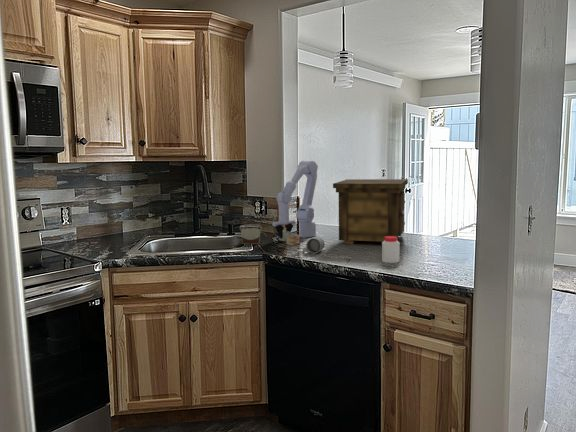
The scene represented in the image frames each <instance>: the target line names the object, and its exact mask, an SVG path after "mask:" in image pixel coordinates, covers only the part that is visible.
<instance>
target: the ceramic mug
mask: <svg viewBox="0 0 576 432" xmlns="http://www.w3.org/2000/svg"><path fill="white" fill-rule="evenodd" d="M324 247H325V241H324V239H323V238H322V237H321V236H320V237H319V236H313V237H310V238H309V239H308V240H307V242H306V245H305V247H304V248H302V251H303V252H306V251H308V253H310V254H312V253H316V254H318V253H319V252H321V251H322V250H323V249H324Z"/></svg>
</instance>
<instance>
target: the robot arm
mask: <svg viewBox="0 0 576 432" xmlns="http://www.w3.org/2000/svg"><path fill="white" fill-rule="evenodd" d="M318 167H319V165H318V164H317V163H316V161H314V160H310V161H309V160H307V161H306V160H301V161H300V162H299V163H298V165H297V169H296V171H295V173H294V175H293V176H292V178H291V180H290V181H287V182H286V183H285V186H284V187H283V189H282V190H281V191H280V192H279V193H278V194H276V198H275V200H276V202H277V205H278V221H276V222H275V221H274V222H272V227H274V228H275V230H276V232H277V235H278V239H279V238H281V239H282V237H283V231H284V227H285V231H290V234H291V232H292V230H293V228H294V225H296V220H294V219H291V220H290V204H289V203H290V202H291V200H292V195H293V193H294V192H295V191H296V188H297V184H298V182H300V180H301V178H302V177H303V176H304V175H305V177H306V183H305V187H304V193H303V199H302V204H300V206H298V209H297V211H296V214H295V215H296V216H295V217H296V219H297V221H298V227H299V228H298V230H299V231H298V232H299V234H298V235H300V238H303V239H305V238H314V237H318V235H317V231H316V230H317V228H316V227H317V226H316V222H315V220H314V218H315V208H314V207H313V206H312V204H313V199H314V194H315V190H316V183H317V179H318Z"/></svg>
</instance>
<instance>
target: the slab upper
mask: <svg viewBox="0 0 576 432" xmlns="http://www.w3.org/2000/svg"><path fill="white" fill-rule="evenodd" d="M300 238H301V237H300V235H299V234H296V233H292V234H291V233H290V235H287V240H290V241H296V240H299V241H300Z"/></svg>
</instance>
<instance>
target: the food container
mask: <svg viewBox="0 0 576 432" xmlns="http://www.w3.org/2000/svg"><path fill="white" fill-rule="evenodd" d="M238 229H239V230H240V233H241V234H240V235H241V241H242V245H259V244H260V243H261V242H260V241H261V231H262V230H263V229H262V226H261V224H255V223H250V224H242V225H239V228H238ZM249 243H251V244H249Z"/></svg>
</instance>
